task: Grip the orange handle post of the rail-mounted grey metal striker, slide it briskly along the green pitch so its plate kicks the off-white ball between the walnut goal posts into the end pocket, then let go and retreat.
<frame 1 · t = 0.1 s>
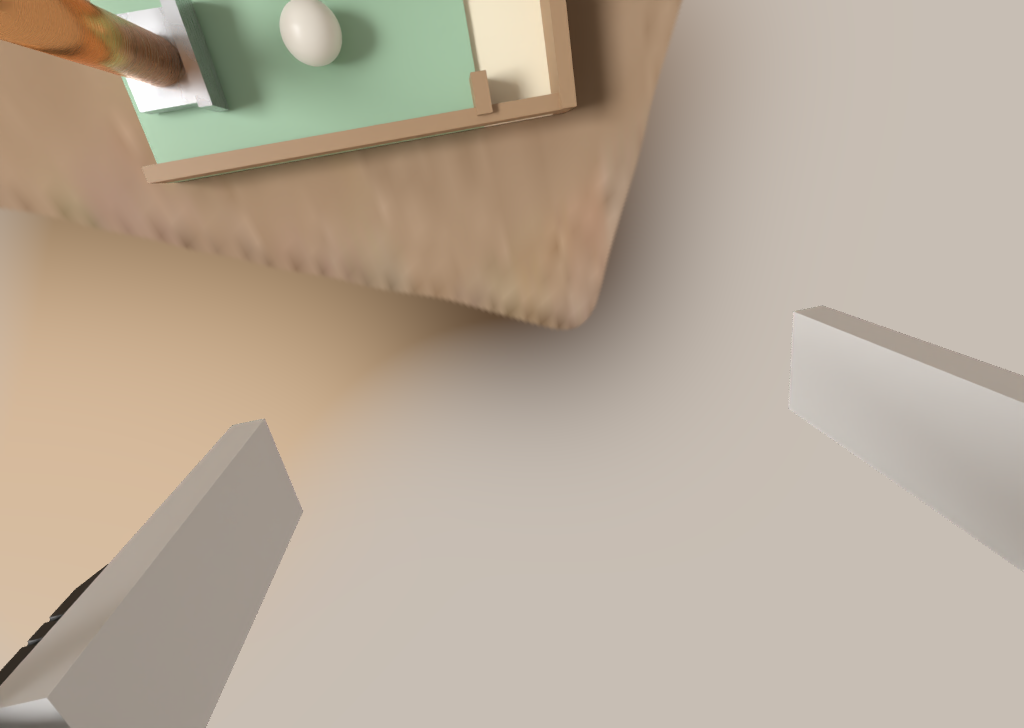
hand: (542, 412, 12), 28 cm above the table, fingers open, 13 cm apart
pitch: (346, 41, 32), on the table
striker: (101, 35, 24), point 8 cm above the table, slide at 0.0 cm
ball: (311, 32, 29), point 3 cm above the table, touching pitch
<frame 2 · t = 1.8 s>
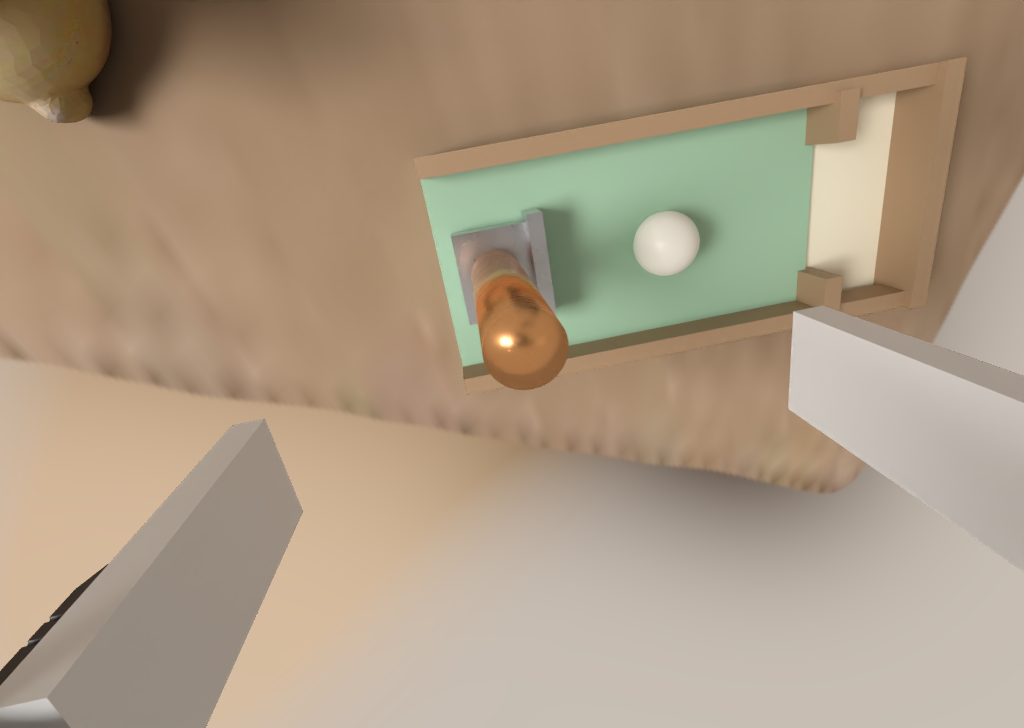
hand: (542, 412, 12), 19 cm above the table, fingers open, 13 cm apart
pitch: (670, 232, 29), on the table
striker: (514, 297, 22), point 8 cm above the table, slide at 0.0 cm
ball: (665, 243, 27), point 3 cm above the table, touching pitch
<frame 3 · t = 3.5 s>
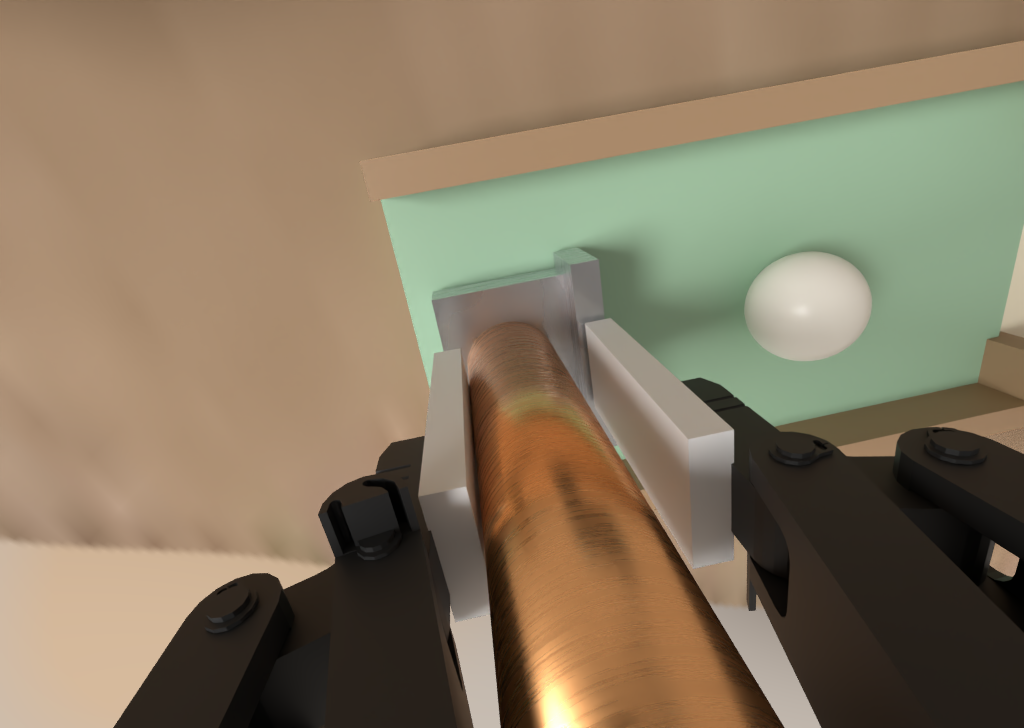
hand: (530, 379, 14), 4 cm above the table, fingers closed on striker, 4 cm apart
pitch: (789, 280, 18), on the table
striker: (559, 450, 10), point 8 cm above the table, slide at -0.1 cm, touching gripper
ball: (804, 307, 16), point 3 cm above the table, touching pitch
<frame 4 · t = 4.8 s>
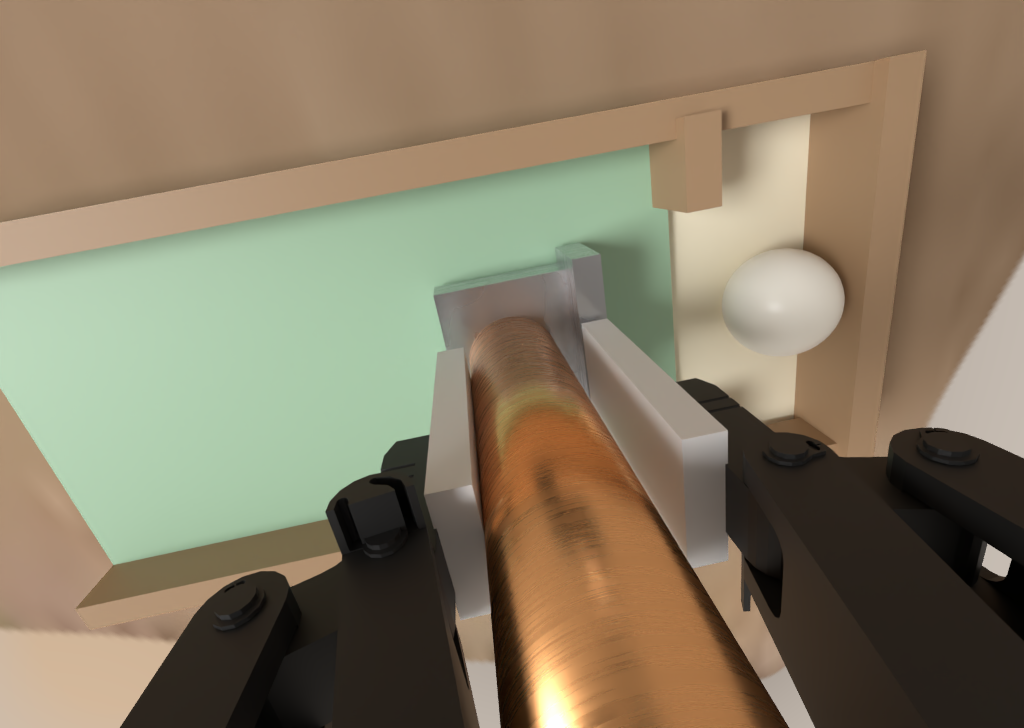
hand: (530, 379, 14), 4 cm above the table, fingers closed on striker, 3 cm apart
pitch: (448, 344, 18), on the table
striker: (561, 444, 10), point 8 cm above the table, slide at 13.1 cm, touching gripper
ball: (779, 303, 16), point 3 cm above the table, tilted 22°, touching pitch
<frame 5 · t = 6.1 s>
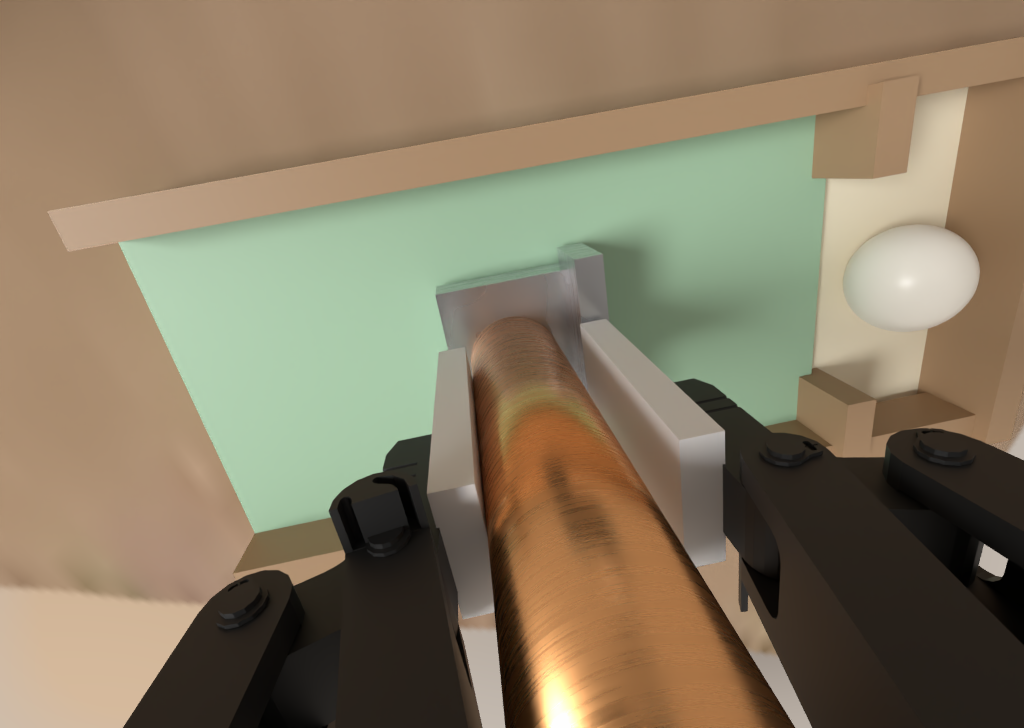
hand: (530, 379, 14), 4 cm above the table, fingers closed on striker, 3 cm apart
pitch: (590, 316, 18), on the table
striker: (563, 444, 10), point 8 cm above the table, slide at 7.8 cm, touching gripper
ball: (906, 279, 16), point 3 cm above the table, tilted 53°, touching pitch
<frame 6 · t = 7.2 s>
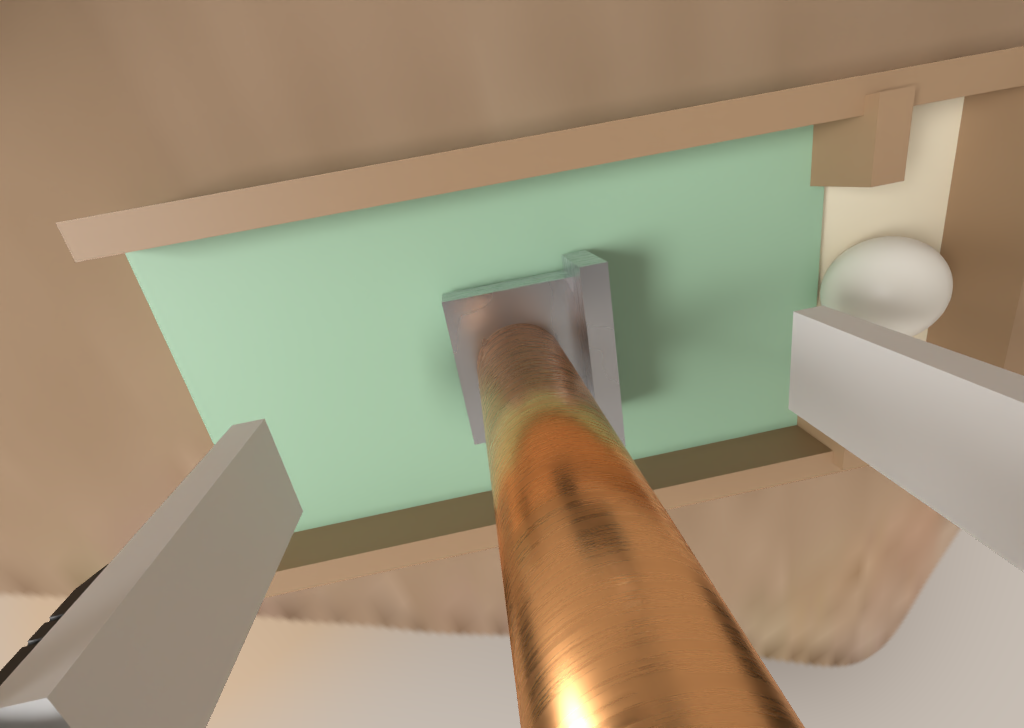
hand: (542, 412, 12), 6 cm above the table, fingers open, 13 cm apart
pitch: (591, 323, 18), on the table
striker: (570, 450, 10), point 8 cm above the table, slide at 7.9 cm
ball: (882, 290, 16), point 3 cm above the table, tilted 80°, touching pitch
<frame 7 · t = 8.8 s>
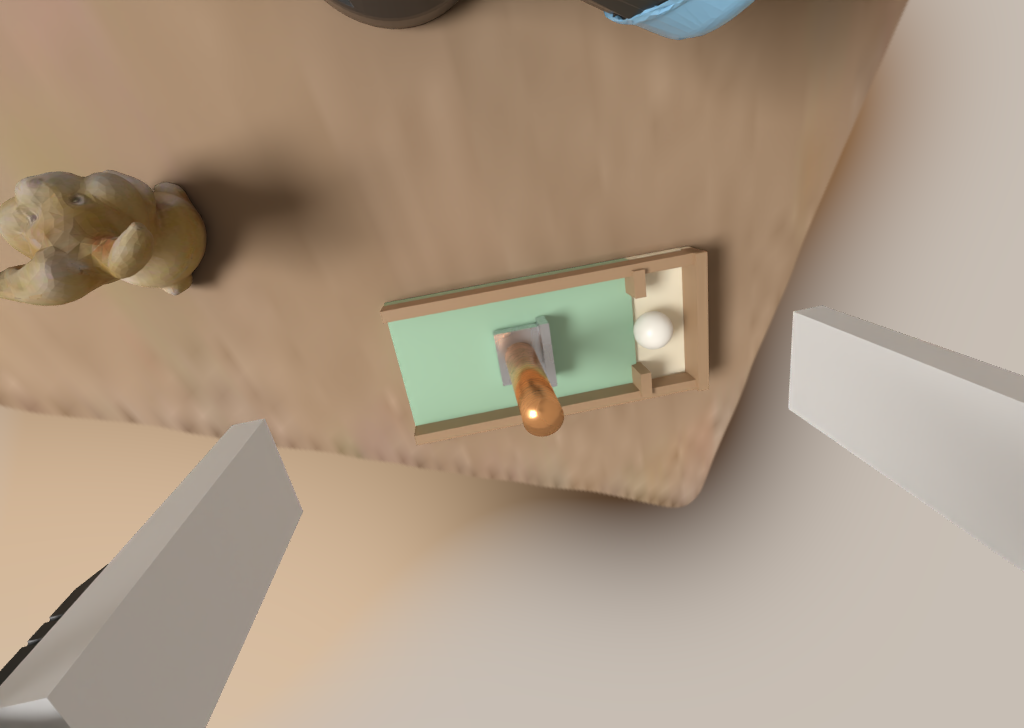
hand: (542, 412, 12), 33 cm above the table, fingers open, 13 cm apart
figurine: (171, 223, 39), on the table
pitch: (548, 341, 46), on the table
striker: (534, 379, 39), point 8 cm above the table, slide at 7.9 cm
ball: (653, 330, 44), point 3 cm above the table, tilted 78°, touching pitch
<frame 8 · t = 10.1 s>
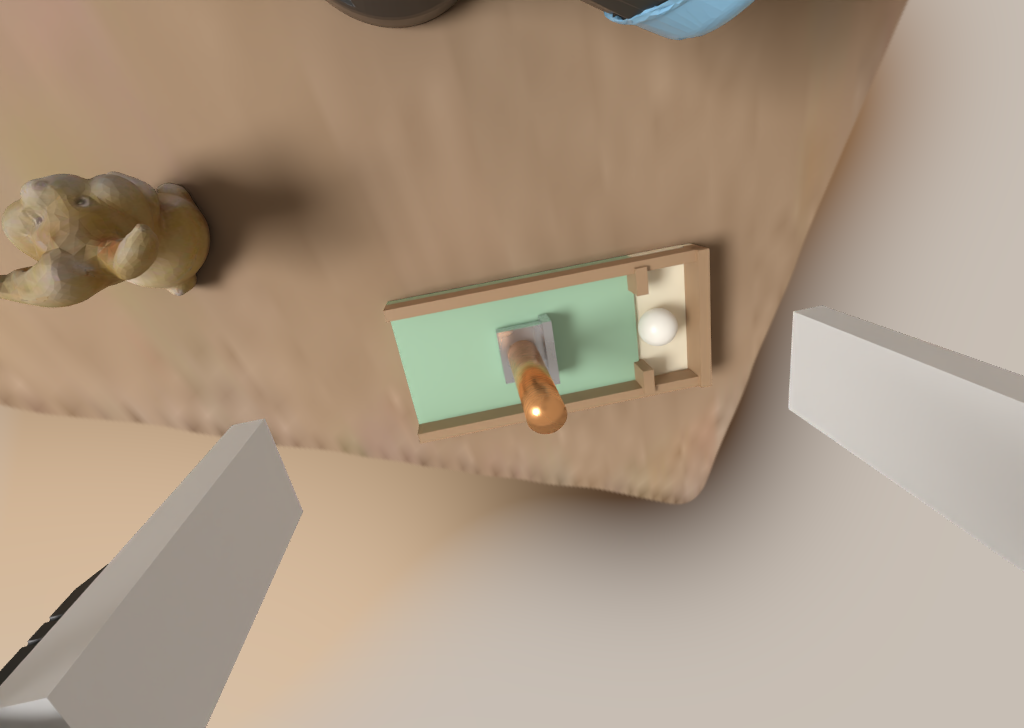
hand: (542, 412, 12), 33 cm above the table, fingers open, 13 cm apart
figurine: (174, 224, 39), on the table
pitch: (550, 338, 46), on the table
striker: (536, 376, 39), point 8 cm above the table, slide at 7.9 cm
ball: (657, 327, 44), point 3 cm above the table, tilted 71°, touching pitch
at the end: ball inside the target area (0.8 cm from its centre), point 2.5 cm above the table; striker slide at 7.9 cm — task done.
